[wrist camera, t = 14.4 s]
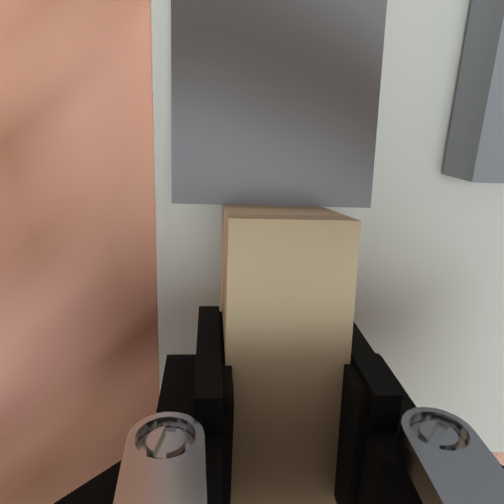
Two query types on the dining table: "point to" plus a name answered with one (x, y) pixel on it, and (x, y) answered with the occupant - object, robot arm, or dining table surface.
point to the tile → (479, 100)
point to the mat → (377, 229)
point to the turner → (280, 213)
